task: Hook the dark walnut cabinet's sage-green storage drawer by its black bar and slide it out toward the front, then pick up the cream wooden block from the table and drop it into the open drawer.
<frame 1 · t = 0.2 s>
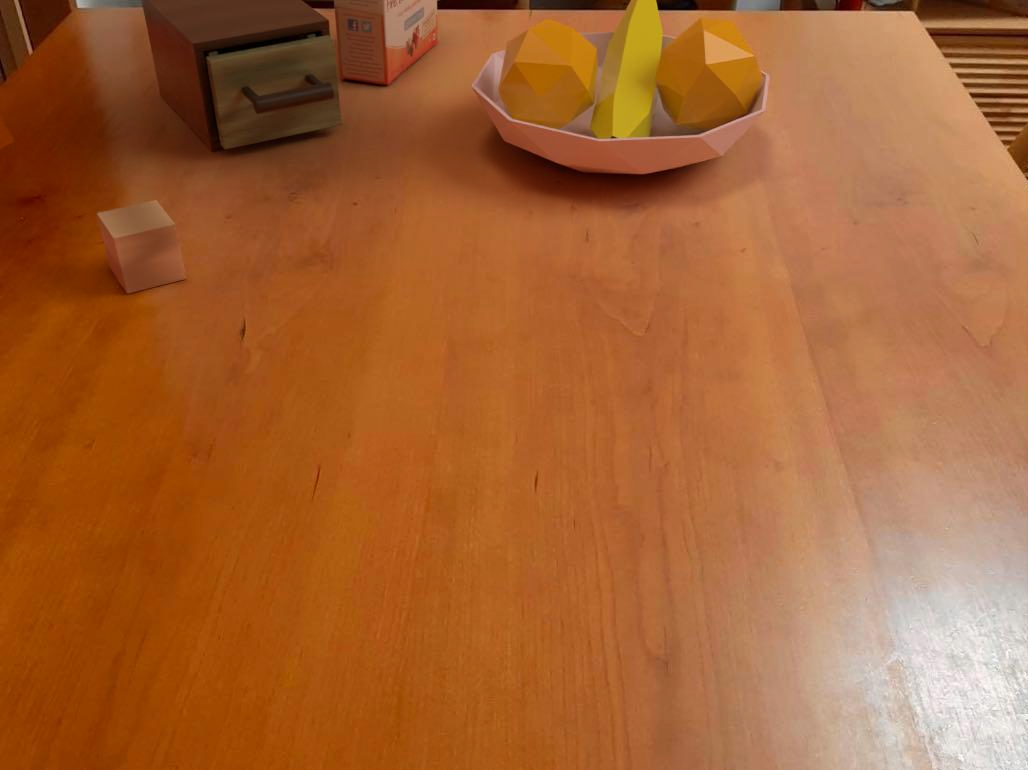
block: (148, 273, 89), on the table
cracker box: (392, 63, 124), on the table
cabinet: (247, 109, 114), on the table
drawer: (258, 76, 107), point 5 cm above the table, slide at 1.0 cm
fruit bowl: (623, 141, 109), on the table
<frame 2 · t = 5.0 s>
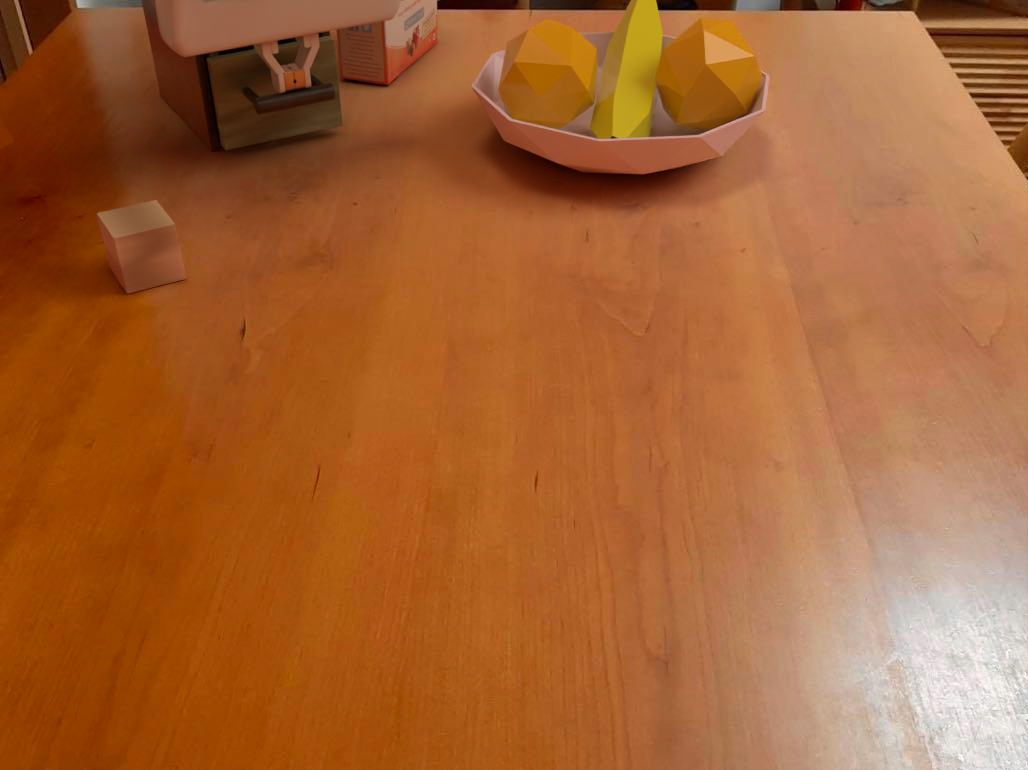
hand: (292, 88, 101), 6 cm above the table, tool pointing down, fingers closed, pressing on drawer
drawer: (259, 77, 107), point 5 cm above the table, slide at 1.2 cm, touching gripper
everything else where it was.
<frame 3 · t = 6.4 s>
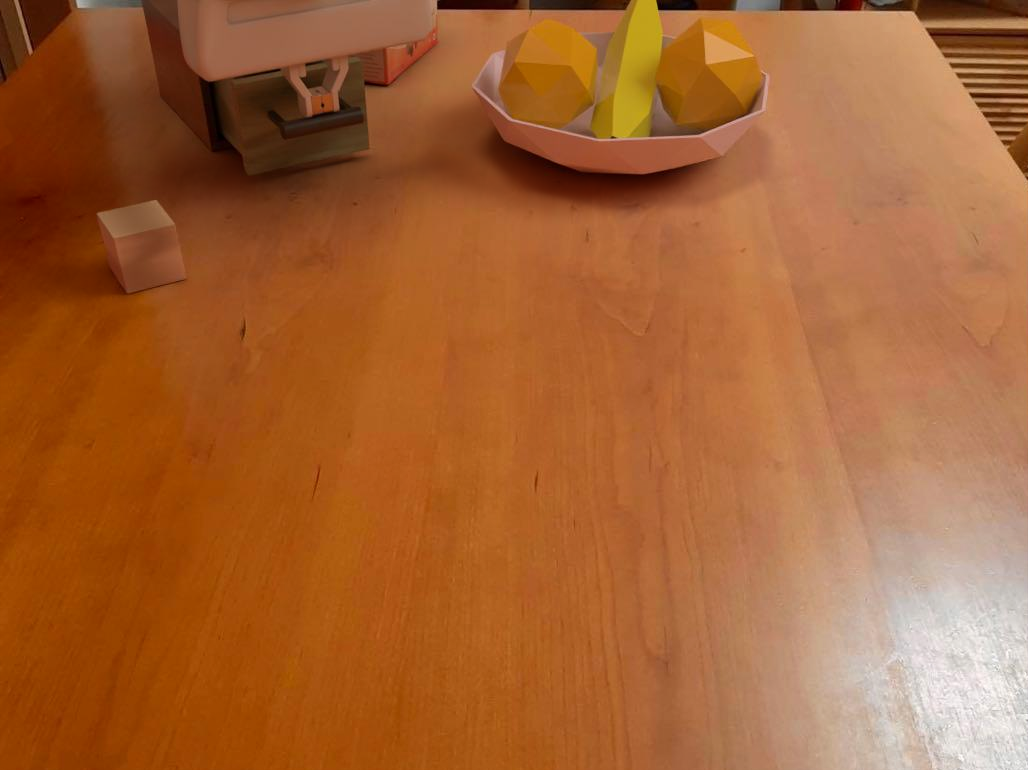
hand: (319, 112, 97), 6 cm above the table, tool pointing down, fingers closed, pressing on drawer
drawer: (284, 99, 103), point 5 cm above the table, slide at 7.2 cm, touching gripper
everything else where it was.
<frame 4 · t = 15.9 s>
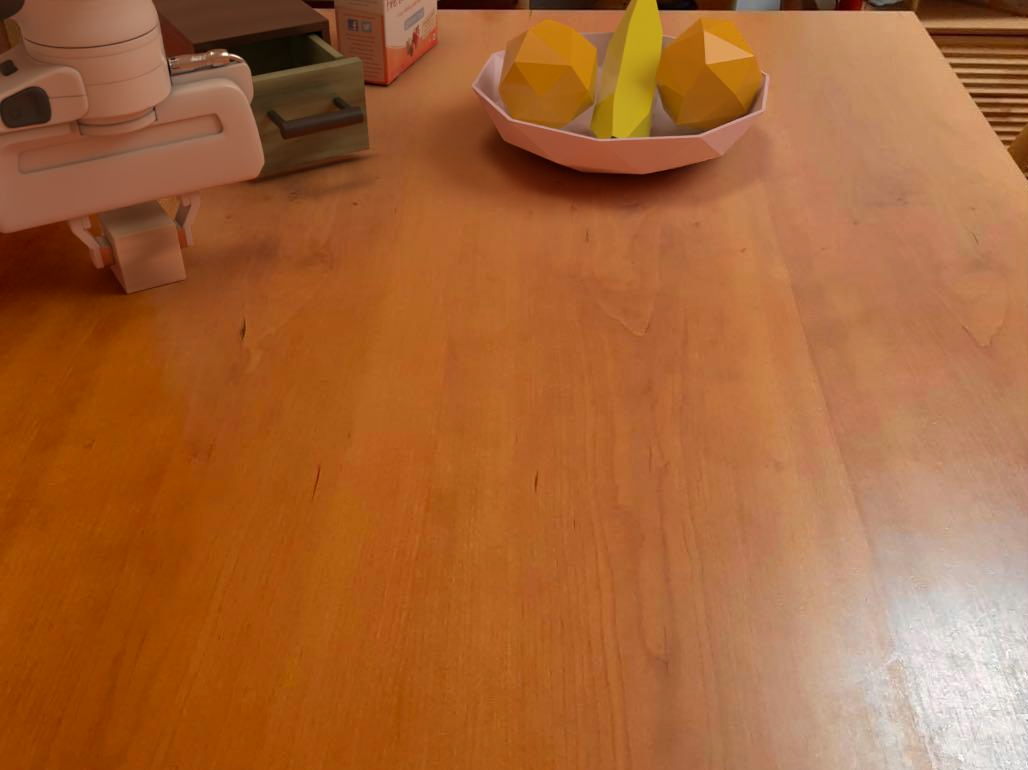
hand: (143, 254, 88), 2 cm above the table, tool pointing down, fingers closed on block, 4 cm apart
block: (148, 273, 89), on the table, touching gripper
drawer: (284, 99, 103), point 5 cm above the table, slide at 7.2 cm
everything else where it was.
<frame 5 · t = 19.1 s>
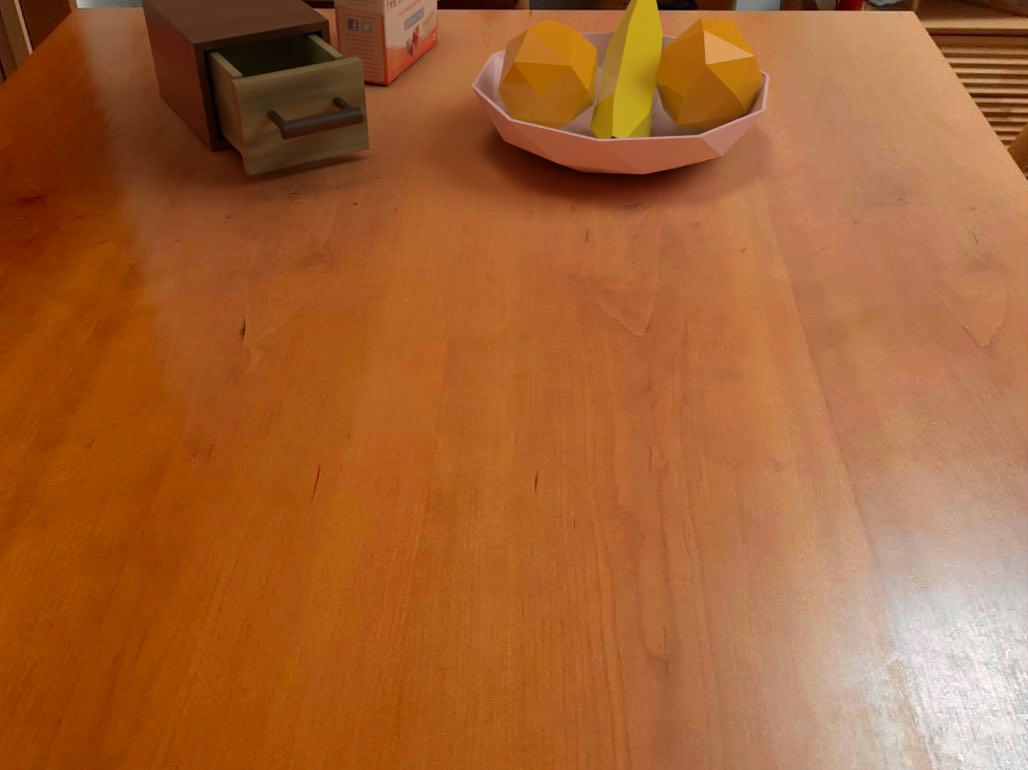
when the fingers open (9 cm above the table, at t = 22.6 s): block drops 5 cm, resting on drawer.
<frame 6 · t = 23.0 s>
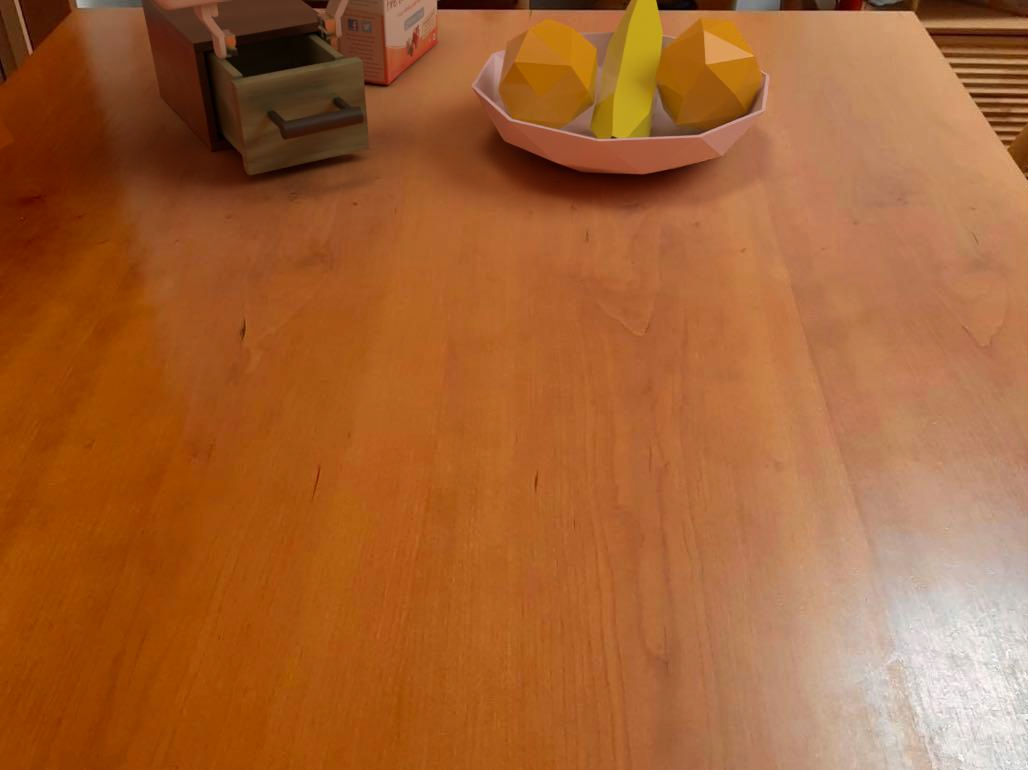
hand: (279, 46, 100), 10 cm above the table, tool pointing down, fingers open, 8 cm apart
block: (291, 133, 105), point 2 cm above the table, touching drawer
drawer: (284, 99, 103), point 5 cm above the table, slide at 7.2 cm, touching block
everything else where it was.
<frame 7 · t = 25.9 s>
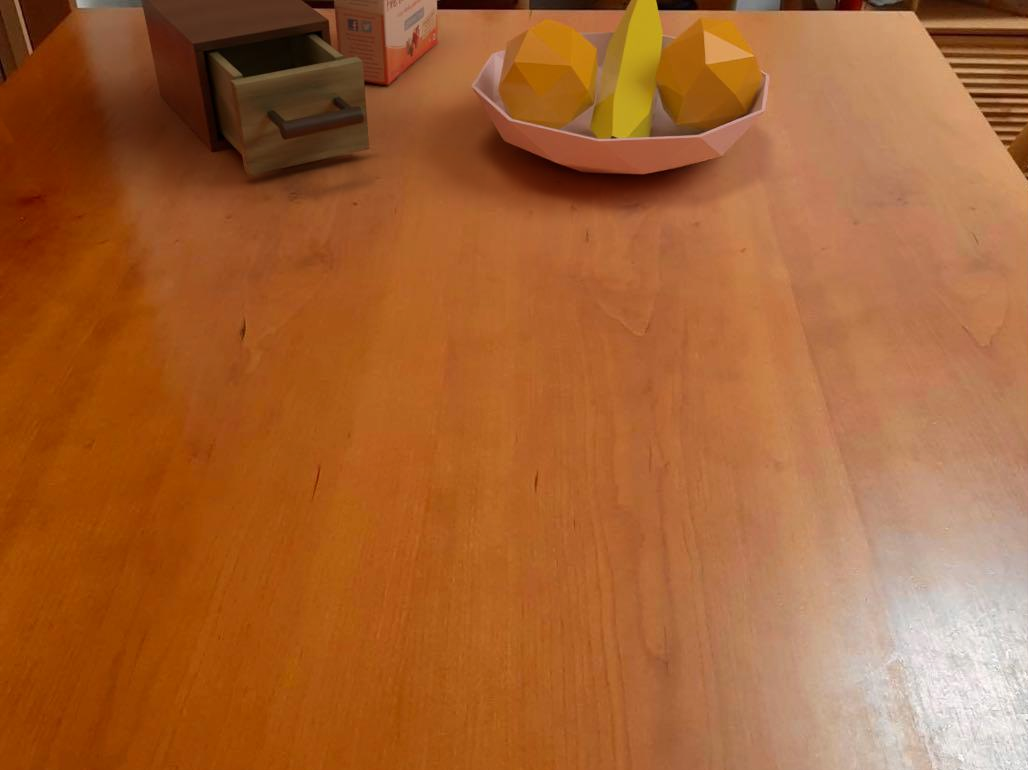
nothing on the table moved.
at the end: drawer slide at 7.2 cm; block inside the target area in the drawer (6.1 cm from its centre), point 2.0 cm above the cabinet's base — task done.
